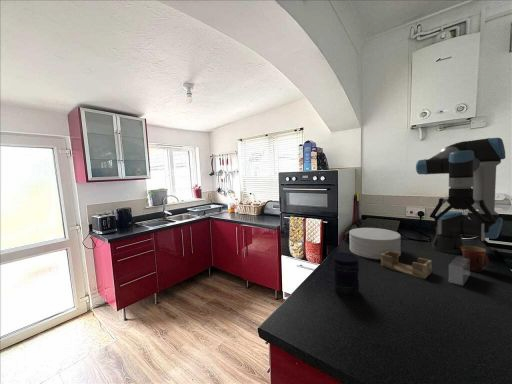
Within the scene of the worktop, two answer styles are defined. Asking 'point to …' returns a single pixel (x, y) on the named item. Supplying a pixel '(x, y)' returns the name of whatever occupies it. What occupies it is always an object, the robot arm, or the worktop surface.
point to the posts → (417, 269)
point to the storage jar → (346, 274)
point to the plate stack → (374, 242)
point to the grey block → (459, 270)
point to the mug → (475, 257)
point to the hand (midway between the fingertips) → (459, 236)
